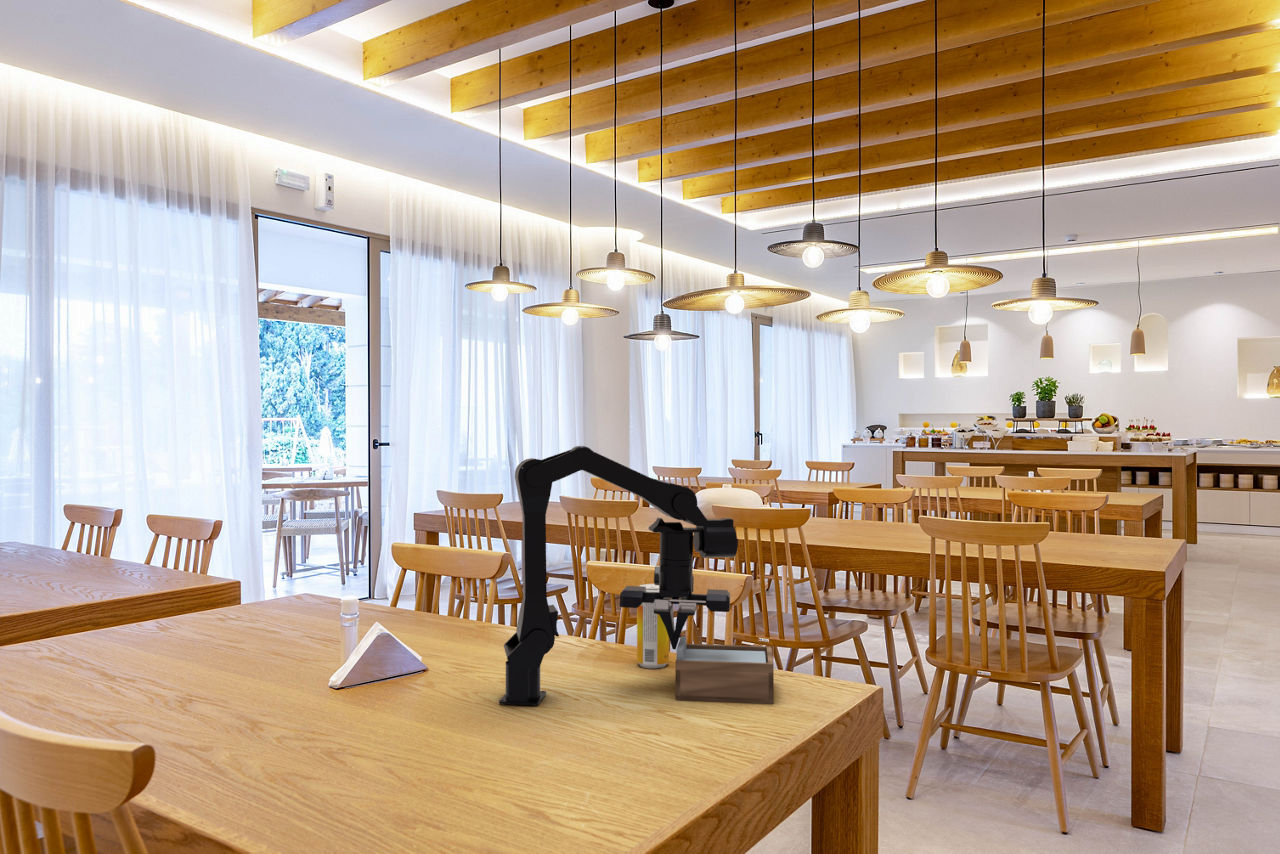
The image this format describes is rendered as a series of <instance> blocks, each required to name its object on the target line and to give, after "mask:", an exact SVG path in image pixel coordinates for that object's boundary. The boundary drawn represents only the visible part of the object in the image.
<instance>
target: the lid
mask: <svg viewBox="0 0 1280 854" xmlns="http://www.w3.org/2000/svg"><path fill="white" fill-rule="evenodd" d="M686 644H687V636H686V635H685V636H684V635H680V638H679V641H678V644H677V647H676V660H694V661H724V662H754V663H766V657H765V651H739V650H707V649H686Z"/></svg>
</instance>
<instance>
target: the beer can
mask: <svg viewBox="0 0 1280 854" xmlns="http://www.w3.org/2000/svg"><path fill="white" fill-rule="evenodd" d="M639 586H642V587H646V592H659V585H655V584H654V583H646V584H640V585H639ZM668 599H669V598H668ZM654 609H655V605H654V603H642V604H641V605H640V606H639V607H638V608H636V662H637V663H638V665H639V666H640V667H641V668H644V669H653V670H655V669H662V668H665V667H666V666H667V664H668V663H669V661H670V639H669V636H668V633H667V630H666V628H665V625H664V623H663V621H662V619H661V617H660V615H659V614H654Z"/></svg>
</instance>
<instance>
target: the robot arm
mask: <svg viewBox="0 0 1280 854" xmlns="http://www.w3.org/2000/svg"><path fill="white" fill-rule="evenodd" d="M580 471H583V472H586V473H588V474H589V475H592V476H595V477H596V478H599V479H601V480H602V481H605V482H608V483H609V484H612V485H614V486H617V488H620V489H623V490H624V491H627V492H628V493H631V494H634V495H636V496H638V497H639V498H641V499H642V500H643V501H644V502H646V503H648V504H649V505H650V506H651V507H652V508H654V509H656V510H657V511H659V512H660V513H661V514H662V515H665V516H666V517H669V518H672V519H674V520H678V521H666V522H665V521H664V519H663V518H661V517H657V518H656V520H655V521H654V522H653V523H652V524H650V525H649V526H648V528H647V529H648V530H649V531H650V532H652V533H654V534H655V533H656V534H657V533H659V535H660V536H659V566H654V572H653V584H655V585H659V592H646V587H642V586H640V585H639V586H638V585H636V586H635V585H626V586H625V587H624V588H623V589H622V590H621V592H620V595H619V607H620V608H626V609H627V608H628V609H637V608H638V607H639V606H640V605H641V604H642V603H654V605H655V609H654V614H659V615H660V617H661V619H662V621H663V623H664V625H665V628H666V630H667V633H668V636H669V643H670V645H671V648H672V650H677V647H678V643H679V640H680V637H681V634H682V631H683V628H684V626H685V624H686V622H687V621H688V618H689V617H690V616H695V615H696V612H697V606H705V607H706V608H707V609H708V610H709V611H710V612H720V613H729V612H730V609H731V593H730V591H728V590H727V589H712V588H711V589H710V588H709V589H707V591H706V594H705V593H704V594H703V593H693V592H694V583H695V582H694V580H695V579H694V574H693V572H694V571H693V568H694V567H693V566H694V565H693V563H694V559H693V557H694V551H695V552H696V553H699V556H700V557H701V558H704V559H705V558H712V559H713V558H714V559H715V558H716V559H717V558H735V557H736V555H737V552H738V547H739V539H738V536H737V532H736V529H735V526H734V519H733V518H730V517H723V518H719V519H716V518H715V519H713V518H712V519H711V518H710V519H707V517H706V516H705V514H704V513H703V512H702V511H701V509H700V508H699V506H698V497H697V496H696V493H695V492H694V490H693V489H691V488H689V487H687V486H684V485H679V484H675V483H672V482H668V481H665V480H660V479H656V478H653V477H649V476H647V475H645V474H643V473H642V472H639V471H637V470H634V469H633V468H630V467H628V466H626V465H623V464H621V463H619V462H617V461H615V460H612V459H610V458H608V457H607V456H604V455H602V454H600V453H598V452H596V451H594V450H592V449H591V448H590V447H588V446H585V445H576V446H574V447H572V448H571V449H570V450H566V451H563V452H560V453H557V454H554V455H552V456H549V457H546V458H543V459H539V458H533V457H531V458H526V459H524V460H522V461H521V462H519V464H518V465H517V466H516V468H515V471H514V481H515V486H516V490H517V496H518V500H519V504H520V509H521V514H522V586H523V587H522V588H523V590H522V595H523V596H522V600H521V603H520V608H519V612H518V619H517V624H516V629H515V630H516V632H515V633H514V634H513V635H512V636H511V637H510V638H509V639H508V640H506V642H505V643H504V644H503V648H504V652H505V656H506V659H507V660H506V661H505V693H504V695H503V696H502V697H501V698H500V699H499V700H498V704H500V705H513V706H519V705H520V706H538V705H539V704H540V703H541V702H542V701H543V699H544V698H545V696H546V695H547V691H546V690H541V664H542V662H543V660H544V656H545V655H546V654H548V653H549V652H550V650H552V649H553V648H554V645H555V640H556V638H555V637H558V638H559V636H560V634H559V632H558V627H557V623H558V619H559V618H558V617H559V611H558V609H557V607H555V605H554V604H549V603H548V598H547V596H548V595H547V591H548V589H547V534H546V533H547V522H546V521H547V520H546V519H547V518H546V517H547V515H546V514H547V511H548V506H549V502H550V498H551V492H552V487H553V483H554V482H556V481H560V480H563V479H564V478H566V477H568V476H571V475H573V474H575V473H578V472H580ZM680 521H683V522H685V523H688V524H690V525H693V526H694V527H684V526H683V524H682V522H680ZM668 598H669V599H668ZM674 605H678V610H677V613H676V620H675V618H674Z"/></svg>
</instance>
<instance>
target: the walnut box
mask: <svg viewBox="0 0 1280 854" xmlns="http://www.w3.org/2000/svg"><path fill="white" fill-rule="evenodd" d="M686 649H707V650H739V651H765V657H766V663H754V662H724V661H694V660H677V659H675V666H674V667H675V668H674V669H675V674H674V675H675V680H674V681H675V689H674V690H675V691H674V692H675V693H674V694H675V701H688V702H690V701H691V702H692V701H693V702H713V703H714V702H715V703H716V702H717V703H719V702H720V703H736V704H737V703H741V704H766V705H767V704H768V705H774V699H775V698H774V695H775V693H774V691H775V690H774V689H775V688H774V685H775V684H774V681H775V680H774V676H775V675H774V673H775V672H774V670H775V668H774V664H775V663H774V658H773V651H772V646H767V645H735V644H710V643H709V644H707V643H706V644H705V643H686Z"/></svg>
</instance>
